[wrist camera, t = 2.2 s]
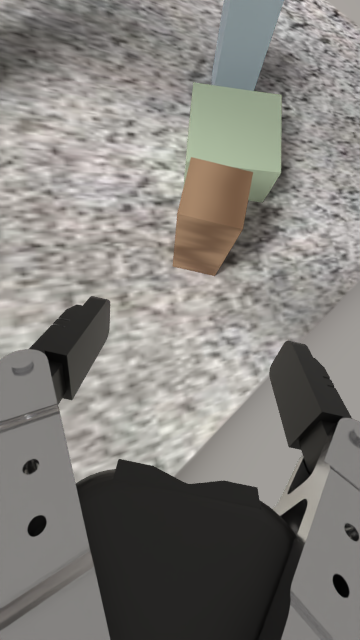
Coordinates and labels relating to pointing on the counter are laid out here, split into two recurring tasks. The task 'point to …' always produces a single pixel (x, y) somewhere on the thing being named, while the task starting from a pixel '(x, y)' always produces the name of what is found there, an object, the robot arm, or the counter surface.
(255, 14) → the slate block
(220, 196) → the walnut block
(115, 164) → the counter surface
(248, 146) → the base block
